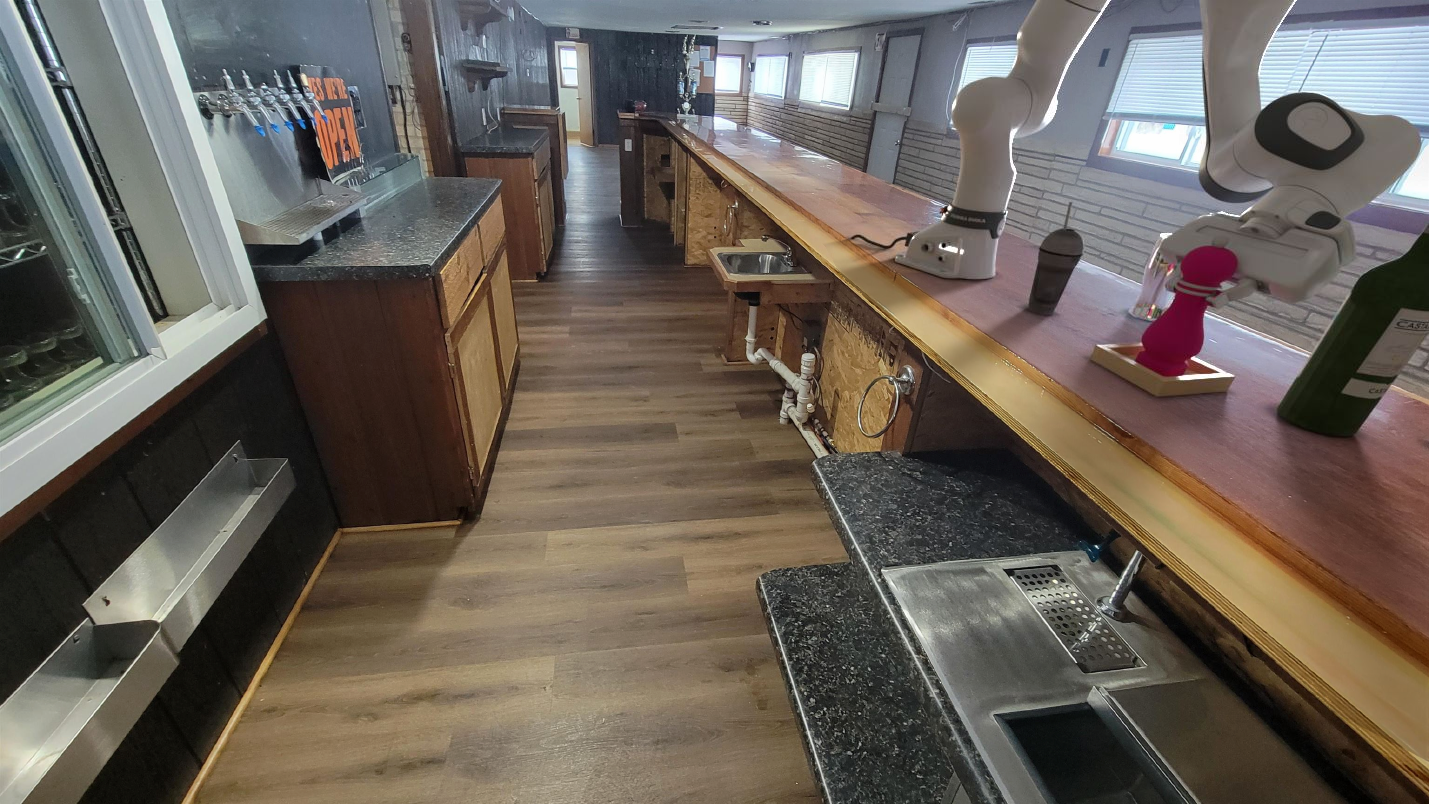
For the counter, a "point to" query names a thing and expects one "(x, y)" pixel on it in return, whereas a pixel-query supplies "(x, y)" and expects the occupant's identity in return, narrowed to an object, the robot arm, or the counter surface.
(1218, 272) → the pepper mill
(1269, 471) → the counter surface
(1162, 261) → the beer glass
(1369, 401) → the wine bottle
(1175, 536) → the counter surface
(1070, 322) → the counter surface
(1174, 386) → the tray
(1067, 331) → the counter surface
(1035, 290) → the beverage cup
